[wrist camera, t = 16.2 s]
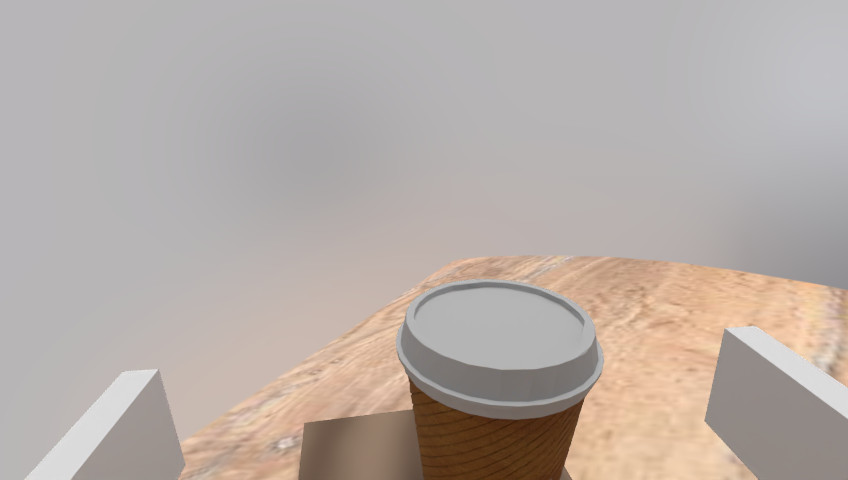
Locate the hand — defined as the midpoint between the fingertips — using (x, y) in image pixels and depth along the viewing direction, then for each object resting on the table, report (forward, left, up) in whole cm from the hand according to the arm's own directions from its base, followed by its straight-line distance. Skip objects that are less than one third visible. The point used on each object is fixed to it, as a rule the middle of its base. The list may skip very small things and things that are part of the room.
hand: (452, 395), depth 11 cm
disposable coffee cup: (-4, -9, -15) cm, 18 cm away
